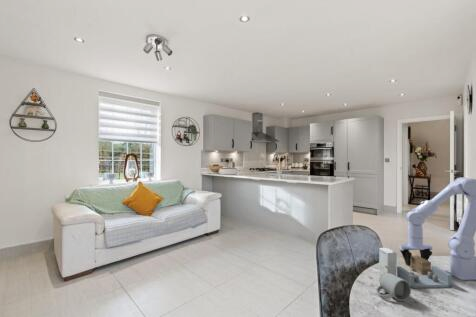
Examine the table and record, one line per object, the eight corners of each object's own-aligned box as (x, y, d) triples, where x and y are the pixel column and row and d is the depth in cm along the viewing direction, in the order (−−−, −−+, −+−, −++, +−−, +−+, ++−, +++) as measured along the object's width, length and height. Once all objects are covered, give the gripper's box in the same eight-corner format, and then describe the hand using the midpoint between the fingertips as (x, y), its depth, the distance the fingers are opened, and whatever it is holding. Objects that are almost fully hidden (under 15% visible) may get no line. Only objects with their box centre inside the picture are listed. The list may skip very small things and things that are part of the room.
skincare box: (378, 273, 106) (377, 247, 106) (387, 273, 106) (387, 247, 106) (387, 280, 100) (387, 252, 100) (397, 280, 100) (397, 252, 100)
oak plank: (402, 263, 116) (402, 251, 116) (410, 263, 116) (410, 251, 116) (422, 275, 104) (421, 262, 104) (431, 275, 104) (430, 262, 104)
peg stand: (435, 277, 102) (435, 265, 102) (452, 287, 94) (451, 275, 94) (397, 277, 102) (396, 266, 102) (410, 287, 94) (410, 275, 94)
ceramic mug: (393, 287, 94) (392, 269, 94) (412, 299, 86) (411, 279, 86) (371, 291, 92) (370, 272, 92) (388, 304, 84) (387, 283, 84)
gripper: (423, 233, 114) (424, 260, 114) (394, 234, 114) (395, 261, 114) (435, 238, 107) (436, 267, 107) (404, 239, 107) (405, 268, 107)
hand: (415, 264), depth 110 cm, fingers open, 7 cm apart
